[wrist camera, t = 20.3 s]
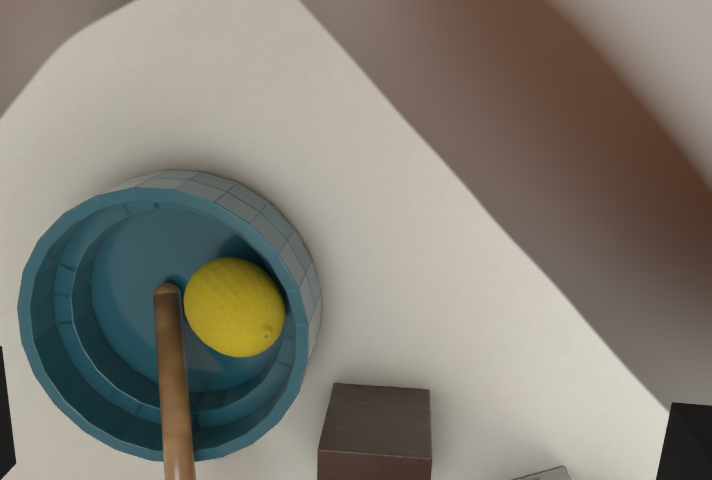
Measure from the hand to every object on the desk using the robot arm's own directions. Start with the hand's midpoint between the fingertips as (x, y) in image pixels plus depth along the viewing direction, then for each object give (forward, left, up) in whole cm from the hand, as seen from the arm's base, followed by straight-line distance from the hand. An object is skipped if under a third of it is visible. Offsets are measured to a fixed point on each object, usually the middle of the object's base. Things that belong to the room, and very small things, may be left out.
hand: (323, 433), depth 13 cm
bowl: (+10, -13, -30) cm, 34 cm away
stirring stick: (+8, -14, -29) cm, 34 cm away
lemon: (+8, -11, -29) cm, 32 cm away
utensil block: (+19, 0, -30) cm, 36 cm away
